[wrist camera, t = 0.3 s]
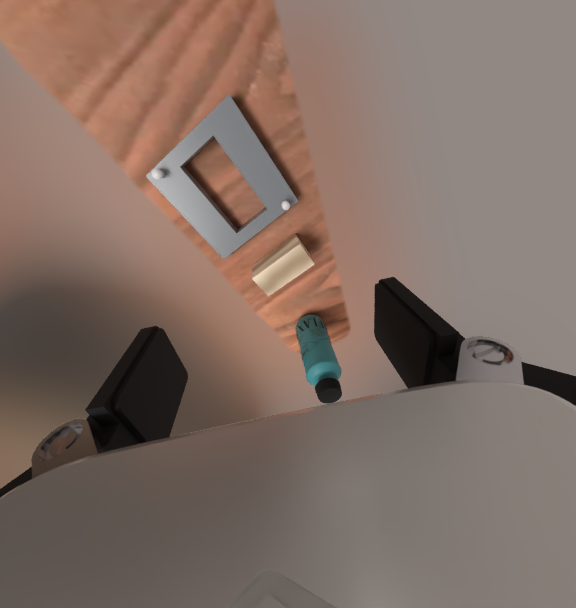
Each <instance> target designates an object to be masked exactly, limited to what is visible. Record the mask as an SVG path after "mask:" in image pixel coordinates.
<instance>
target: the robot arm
mask: <svg viewBox="0 0 576 608" xmlns="http://www.w3.org/2000/svg"><path fill="white" fill-rule="evenodd" d="M374 317H375V318H374V334H375V337H376V340H377V342H378V343H379V345H380V346H381V348H382V349H383V351H384V353H385V354H386V355H387V357H388V359H389V360H390V361H391V363H392V365H393V366H394V368H395V369H396V371H397V372H398V374H399V375H400V377H401V378H402V380H403V381H404V383H405V384H406V386H407V387H408V389H403V390H397V391H392V392H386V393H381V394H376V395H371V396H366V397H361V398H356V399H351V400H346V401H341V402H336V403H331V404H326V405H321V406H316V407H311V408H306V409H302V410H297V411H292V412H287V413H282V414H277V415H272V416H267V417H263V418H258V419H254V420H248V421H244V422H239V423H234V424H229V425H225V426H220V427H215V428H210V429H206V430H201V431H196V432H192V433H187V434H183V435H177V436H173V437H169V436H170V433H171V429H172V426H173V423H174V420H175V417H176V414H177V411H178V407H179V405H180V401H181V398H182V395H183V392H184V389H185V386H186V383H187V379H188V374H187V371H186V369H185V367H184V366H183V364H182V362H181V360H180V358H179V357H178V355H177V353H176V352H175V349H174V348H173V346H172V344H171V342H170V341H169V339H168V337H167V335H166V333H165V331H164V330H163V329H161V328H159V327H157V326H154V327H149V328H144V329H141V330H140V332H139V333H138V335H137V336H136V337H135V339H134V340H133V342H132V343H131V345H130V346H129V348H128V349H127V351H126V352H125V353H124V355H123V356H122V358H121V359H120V361H119V362H118V364H117V365H116V366H115V368H114V369H113V371H112V372H111V374H110V375H109V376H108V378H107V379H106V381H105V382H104V384H103V385H102V387H101V388H100V389H99V391H98V392H97V394H96V395H95V397H94V398H93V400H92V401H91V402H90V404H89V405H88V407H87V408H86V411H87V413H88V414H89V417H88V418H87V420H85V419H82V418H80V419H74V420H71V421H68V422H66V423H64V424H62V425H61V426H59V427H58V428H56V429H55V430H53V431H52V432H50V434H48V435H47V436H46V437H45V438H44V439H43V440H42V441H41V442H40V443H39V445H38V446H37V447H36V449H35V451H34V452H33V455H32V459H31V461H32V467H30V468H29V469H28V470H26V471H25V472H24V473H22V474H21V475H19V476H18V477H17V478H15V479H14V480H12V481H11V482H10V483H8V484H7V485H6V486H4V487H3V488H1V489H0V608H576V376H572V375H569V374H564V373H561V372H557V371H554V370H550V369H546V368H542V367H539V366H535V365H531V364H527V363H523V362H521V357H520V355H519V353H518V352H517V351H516V350H515V349H514V348H513V347H512V346H510V345H509V344H507V343H505V342H503V341H500V340H498V339H494V338H490V337H483V336H477V337H470V338H467V339H465V338H464V337H463V336H461V335H460V334H459V332H458V331H456V330H455V329H454V328H453V327H452V326H450V325H449V324H448V323H447V322H446V321H445V320H443V319H442V318H441V317H440V316H439V315H438V314H437V313H435V312H434V311H433V310H432V309H431V308H429V307H428V306H427V305H426V304H425V303H424V302H423V301H421V300H420V299H419V298H418V297H417V296H416V295H414V294H413V293H412V292H411V291H410V290H409V289H407V288H406V287H405V286H404V285H403V284H402V283H400V282H399V281H398V280H397V279H396V278H394V277H391V278H386V279H381V280H379V283H378V284H375V316H374Z"/></svg>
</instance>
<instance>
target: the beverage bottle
mask: <svg viewBox="0 0 576 608" xmlns="http://www.w3.org/2000/svg"><path fill="white" fill-rule="evenodd" d="M296 331H297V333H296V334H297V336H298V337H297V339H298V341H299V345H300V349H301V354H302V360H303V363H304V367H305V372H306V378H307V381H308V382H309V383H310V384H311V385H313V386H315V390H316V393H317V396H318V399H319V400H320V401H321V402H323V403H333V402H336V401H337V400H339V399H340V397H341V396H342V392H341V386H340V383H339V381H338V379H339V378H340V376H341V367H340V366H339V364H338V361H337V358H336V356H335V353H334V350H333V348H332V345H331V341H330V338H329V336H328V333H327V330H326V328H325V325H324V323H323V321H322V319H321V318H320V317H318V316H316V315H306V316H304V317H302V318H301V319H300V320H299V321H298V323H297V326H296Z"/></svg>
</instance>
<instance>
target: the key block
mask: <svg viewBox="0 0 576 608" xmlns="http://www.w3.org/2000/svg"><path fill="white" fill-rule="evenodd" d="M313 265H314V262H313V260H312V258H311V256H310V254H309V252H308V251H307V249H306V248H305V247H304V245H303V244H302V242H301V241H300V240H299V238H298V237H297V235H296V234H294V235H293V236H291V237H290V238H289V239H287V240H286V241H284V242H283V243H282V244H280V245H279V246H278V247H276V248H275V249H274V250H272V251H271V252H270V253H268V254H267V255H266V256H264V257H263V258H262V259H260V260H259V261H258V262H256V263H255V264H254V265H253V267H252V279H253V280H254V281H255V282H256V284H257V285H258V286H259V287H260V288H261V289H262V290H263V291H264V292H265V293H266V294H267V296H270V295H271V294H272V293H274V292H275V291H277V290H278V289H280V288H281V287H283V286H284V285H285V284H287V283H288V282H290V281H291V280H293V279H294V278H296V277H297V276H298V275H300V274H301V273H303V272H304V271H306V270H307V269H309V268H310V267H311V266H313Z"/></svg>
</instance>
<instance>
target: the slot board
mask: <svg viewBox="0 0 576 608" xmlns="http://www.w3.org/2000/svg"><path fill="white" fill-rule="evenodd" d="M214 138H216V140H217V141H218V142H219V144H220V145H221V147H222V148H223V149H224V151H225V152H226V153H227V155H228V156H229V157H230V159H231V160H232V162H233V163H234V164H235V166H236V167H237V168H238V170H239V171H240V173H241V174H242V175H243V177H244V178H245V179H246V181H247V182H248V183H249V185H250V186H251V188H252V189H253V190H254V192H255V193H256V194H257V196H258V197H259V198H260V200H261V201H262V203H263V204H264V205H265V208H264V209H263V210H262V211H260V212H259V213H258V214H257V215H255V216H254V217H253V218H252V219H250V220H249V221H248V222H247V223H245V224H244V225H243V226H242V227H240V228H239V229H238V230H237V228H236V227H235V226H234V225H233V224H232V222H231V221H230V220H229V219H228V218H227V216H226V215H225V214H224V213H223V212H222V210H221V209H220V208H219V207H218V206H217V205H216V203H215V202H214V201H213V200H212V199H211V197H210V196H209V195H208V194H207V193H206V191H205V190H204V189H203V188H202V187H201V186H200V184H199V183H198V182H197V181H196V180H195V178H194V177H193V176H192V175H191V174H190V172H189V171H188V170H187V169H186V168H185V165H186V164H187V163H188V162H189V161H190V160H191V159H192V158H193V157H195V156H196V155H197V154H198V153H199V152H200V151H201V150H202V149H203V148H204V147H205V146H206V145H207V144H208V143H209V142H210V141H211V140H213V139H214ZM146 177H147V178H148V179H149V180H150V181H151V182H152V184H153V185H154V186H155V187H156V188H157V189H158V190H159V191H160V192H161V193H162V194H163V195H164V196H165V197H166V198H167V199H168V201H169V202H170V203H171V204H172V205H173V206H174V207H175V208H176V209H177V210H178V211H179V212H180V213H181V214H182V215H183V216H184V217H185V219H186V220H187V221H188V222H189V223H190V224H191V225H192V226H193V227H194V228H195V229H196V230H197V231H198V232H199V233H200V234H201V236H202V237H203V238H204V239H205V240H206V241H207V242H208V243H209V244H210V245H211V246H212V247H213V248H214V249H215V250H216V251H217V253H218V254H219V255H220V256H221V257H222V258H223V259H225V258H226V257H227V256H229V255H230V254H231V253H232V252H234V251H235V250H236V249H238V248H239V247H240V246H241V245H243V244H244V243H245V242H247V241H248V240H249V239H250V238H252V237H253V236H254V235H256V234H257V233H258V232H259V231H261V230H262V229H263V228H265V227H266V226H267V225H268V224H270V223H271V222H272V221H274V220H275V219H276V218H277V217H279V216H280V215H281V214H283V213H284V212H285V211H286V210H288V209H289V208H290V207H292V206H293V205H294V204H295V203H297V202H298V200H297V198H296V197H295V195H294V193H293V192H292V190H291V189H290V187H289V186H288V184H287V183H286V181H285V180H284V178H283V176H282V175H281V173H280V172H279V170H278V169H277V167H276V166H275V164H274V163H273V161H272V159H271V158H270V156H269V155H268V153H267V152H266V150H265V149H264V147H263V146H262V144H261V142H260V141H259V139H258V138H257V136H256V135H255V133H254V132H253V130H252V129H251V127H250V125H249V124H248V122H247V121H246V119H245V118H244V116H243V115H242V113H241V112H240V110H239V108H238V107H237V105H236V104H235V102H234V101H233V99H232V98H231V96H230V95H228V96H227V97H226V98H225V99H224V100H223V101H222V102H221V103H220V104H219V105H218V106H217V107H216V108H215V109H214V110H213V111H212V112H211V113H210V114H209V115H208V116H207V117H205V118H204V119H203V120H202V121H201V122H200V123H199V124H198V125H197V126H196V127H195V128H194V129H193V130H192V131H191V132H190V133H189V134H188V135H187V136H186V137H185V138H184V139H183V140H182V141H181V142H180V143H179V144H178V145H177V146H176V147H175V148H174V149H173V150H172V151H171V152H170V153H169V154H168V155H167V156H166V157H165V158H164V159H163V160H162V161H161V162H160V163H159V164H158V165H157V166H156V167H155V168H154V169H152V170H151V171H150V172H149V173H148V174H147V175H146Z"/></svg>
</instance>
